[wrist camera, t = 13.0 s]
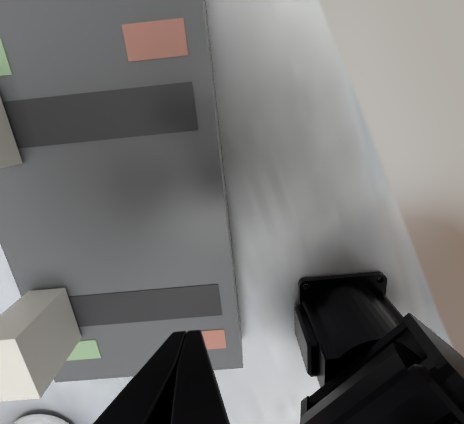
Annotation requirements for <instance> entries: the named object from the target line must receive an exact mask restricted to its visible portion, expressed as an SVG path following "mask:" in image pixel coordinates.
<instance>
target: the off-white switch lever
mask: <svg viewBox="0 0 464 424" xmlns="http://www.w3.org/2000/svg"><path fill="white" fill-rule="evenodd" d="M18 164H23V163H22V160H21V157H20V154H19V151H18V148H17V145H16V142H15V139H14V136H13V133H12V130H11V127H10V124H9V121H8V118H7V115H6V112H5V109H4V106H3V103H2V100H1V97H0V168H4V167H9V166H13V165H18Z"/></svg>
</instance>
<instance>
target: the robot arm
mask: <svg viewBox="0 0 464 424" xmlns="http://www.w3.org/2000/svg"><path fill="white" fill-rule="evenodd" d="M380 277H381V278H380ZM378 278H380V280H377V279H378ZM304 284H308V285H307V286H306V287H303V285H304ZM386 284H387V278H386V276H385V275H384V274H383V273H381V272H370V273H359V274H347V275H335V276H324V277H312V278H303V279H301V280H300V281H299V283H298V295H299V304H297V305H296V306H295V307H294V314H295V334H296V337H297V340H298V344H299V347H300V350H301V354H302V357H303V361H304V364H305V367H306V371H307V373H308V374H309V375H310V376H311V377H313V376H317V378H318V381H319V384H320V387H321V388H320V389H319V390H317V391H316V392H315V393H314V394H312V395H311V396H310V397H309V396H307V397H306V398H304V399H303V400H302V401H301V418H300V424H464V358H463V357H462V356H461V355H460V354H459V353H458V352H457V351H456V350H454V349H453V348H452V347H451V346H450V345H448V344H447V343H446V342H445V341H443V340H442V339H441V338H440V337H439V336H437V335H436V334H435V333H434V332H432V331H431V330H430V329H429V328H428V327H426V326H425V325H424V324H423V323H421V322H420V321H419V320H418V319H417V318H415V317H414V316H413V315H412V314H411V313H408V314H407V315H406V316H405V317H403V316H402V315H401V314H400V312H399V311H398V310H397V309H396V308H395V307H394V305H393V304H392V303H391V302H390V301H389V300H388V299H387V297H386ZM93 424H230V423H229V420H228V416H227V413H226V410H225V407H224V403H223V400H222V397H221V394H220V390H219V387H218V384H217V381H216V377H215V374H214V371H213V367H212V364H211V361H210V358H209V354H208V351H207V348H206V345H205V341H204V338H203V335H202V332H201V330H189V331H188V332H186V331H176V332H173V333H172V334H171V335H170V336H169V337H168V338H167V339H166V341H165V342H164V343H163V344H162V345H161V346H160V347H159V349H158V350H157V351H156V352H155V353H154V354H153V356H152V357H151V358H150V359H149V360H148V361H147V362H146V364H145V365H144V366H143V367H142V368H141V369H140V370H139V372H138V373H137V374H136V375H135V376H134V377H133V378H132V380H131V381H130V382H129V383H128V384H127V385H126V387H125V388H124V389H123V390H122V391H121V392H120V393H119V395H118V396H117V397H116V398H115V399H114V400H113V401H112V403H111V404H110V405H109V406H108V407H107V408H106V410H105V411H104V412H103V413H102V414H101V415H100V416H99V418H98V419H97V420H96V421H95V422H94V423H93Z"/></svg>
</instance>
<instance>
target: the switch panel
mask: <svg viewBox="0 0 464 424" xmlns="http://www.w3.org/2000/svg"><path fill="white" fill-rule="evenodd" d="M0 97H1V100H2V103H3V106H4V109H5V112H6V115H7V118H8V121H9V124H10V127H11V130H12V133H13V136H14V139H15V142H16V145H17V148H18V151H19V154H20V157H21V160H22V163H23V164H18V165H13V166H9V167H4V168H0V244H1V246H2V249H3V251H4V254H5V256H6V259H7V261H8V264H9V266H10V269H11V271H12V274H13V277H14V279H15V282H16V284H17V287H18V289H19V292H20V294H21V297H22V296H23V295H25V294H26V293H27V292H28V291H34V290H45V289H57V288H65V289H66V292H67V295H68V298H69V301H70V304H71V307H72V310H73V313H74V316H75V319H76V322H77V325H78V328H79V331H80V334H81V337H82V338H81V340H80V341H79V342H78V344H77V345H76V347H75V348H74V350H73V351H72V353H71V354H70V356H69V357H68V359H67V360H66V361H65V363H64V364H63V366H62V367H61V369H60V370H59V372H58V373H57V375H56V376H55V378H54V380H55V382H66V381H79V380H92V379H105V378H118V377H130V376H135V375H136V374H137V373H138V372H139V370H140V369H141V368H142V367H143V366H144V365H145V364H146V362H147V361H148V360H149V359H150V358H151V357H152V356H153V354H154V353H155V352H156V351H157V350H158V349H159V347H160V346H161V345H162V344H163V343H164V342H165V341H166V339H167V338H168V337H169V336H170V335H171V334H172V333H173V332H176V331H186V332H188V331H189V330H201V332H202V335H203V338H204V341H205V345H206V348H207V351H208V354H209V358H210V361H211V364H212V367H213V370H221V369H234V368H243V356H242V336H241V327H240V317H239V308H238V299H237V290H236V280H235V271H234V262H233V253H232V243H231V234H230V225H229V215H228V206H227V197H226V188H225V178H224V169H223V160H222V151H221V141H220V132H219V123H218V113H217V104H216V95H215V86H214V76H213V67H212V58H211V49H210V39H209V30H208V21H207V11H206V2H205V0H0Z"/></svg>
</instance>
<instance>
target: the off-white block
mask: <svg viewBox="0 0 464 424" xmlns="http://www.w3.org/2000/svg"><path fill="white" fill-rule="evenodd" d="M81 338H82V337H81V334H80V331H79V328H78V325H77V322H76V319H75V316H74V313H73V310H72V307H71V304H70V301H69V298H68V295H67V292H66V289H65V288H57V289H45V290H34V291H28V292H27V293H26V294H25V295H23V296H22V297H21V298H20V299H19V300H17V301H16V302H15V303H14V304H13V305H12V306H10V307H9V308H8V309H7V310H6V311H5V312H3V313H2V314H1V315H0V401H13V400H26V399H40V398H41V397H42V395H43V394H44V392H45V391H46V389H47V388H48V386H49V385H50V383H51V382H52V381H53V379H54V378H55V376H56V375H57V373H58V372H59V370H60V369H61V367H62V366H63V364H64V363H65V361H66V360H67V359H68V357H69V356H70V354H71V353H72V351H73V350H74V348H75V347H76V345H77V344H78V342H79V341H80V340H81Z"/></svg>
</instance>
